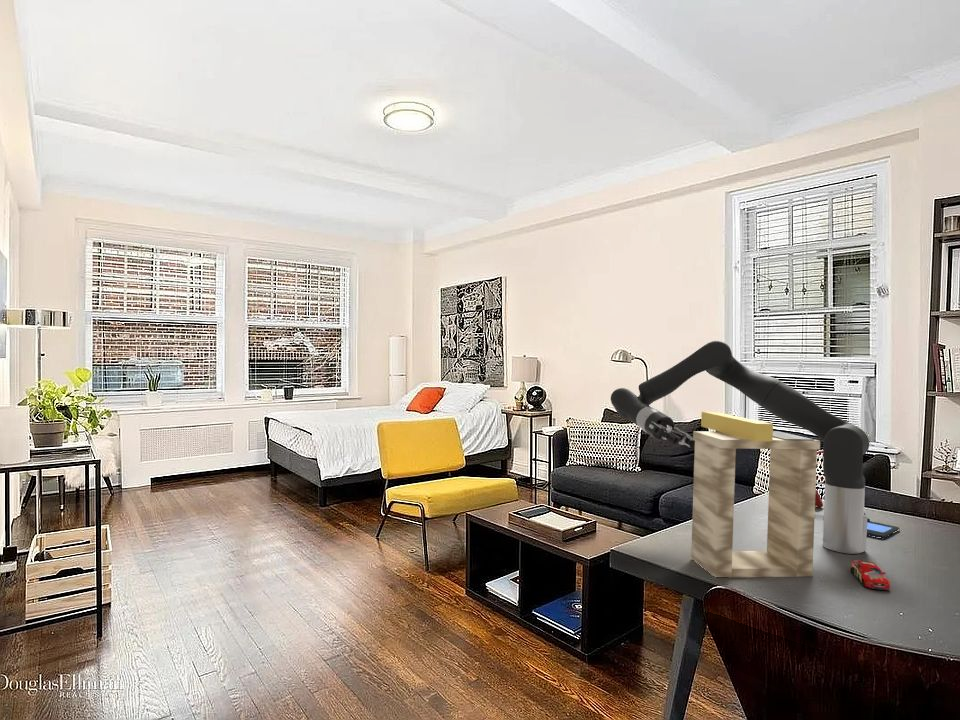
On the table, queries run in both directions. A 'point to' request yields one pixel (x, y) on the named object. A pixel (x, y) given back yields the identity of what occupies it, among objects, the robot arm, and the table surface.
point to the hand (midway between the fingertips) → (689, 445)
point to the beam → (738, 426)
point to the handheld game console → (879, 529)
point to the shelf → (785, 507)
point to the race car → (869, 575)
